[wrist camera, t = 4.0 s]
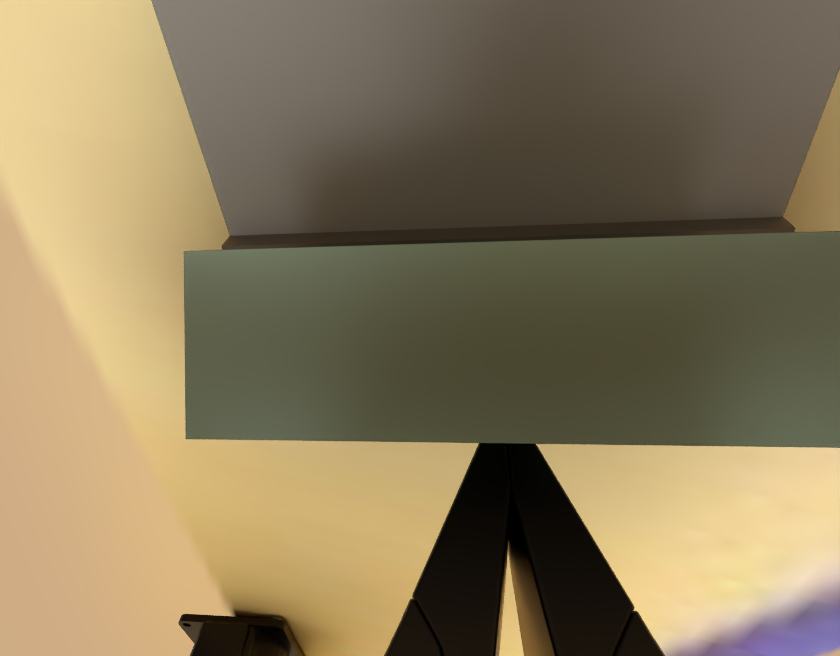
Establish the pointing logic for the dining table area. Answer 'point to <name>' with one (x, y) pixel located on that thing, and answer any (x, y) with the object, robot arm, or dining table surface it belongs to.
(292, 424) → the grey-green rectangular block
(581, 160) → the slate board
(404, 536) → the dining table surface
